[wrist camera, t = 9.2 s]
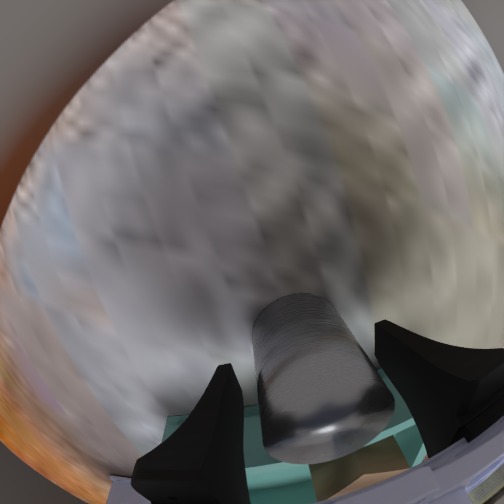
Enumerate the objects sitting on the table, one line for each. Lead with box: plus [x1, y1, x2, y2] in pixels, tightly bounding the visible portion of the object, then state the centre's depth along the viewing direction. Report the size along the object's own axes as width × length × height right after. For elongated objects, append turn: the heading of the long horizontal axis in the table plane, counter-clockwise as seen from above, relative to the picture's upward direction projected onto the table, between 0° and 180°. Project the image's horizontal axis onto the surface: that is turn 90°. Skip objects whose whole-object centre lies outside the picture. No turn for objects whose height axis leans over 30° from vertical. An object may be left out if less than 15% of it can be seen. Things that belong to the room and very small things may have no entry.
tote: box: [162, 368, 427, 504], centre depth 15 cm, size 18×14×5 cm
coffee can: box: [467, 463, 504, 504], centre depth 14 cm, size 10×10×14 cm
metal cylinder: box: [252, 293, 395, 464], centre depth 11 cm, size 5×5×7 cm
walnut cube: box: [308, 435, 410, 502], centre depth 14 cm, size 5×5×5 cm
